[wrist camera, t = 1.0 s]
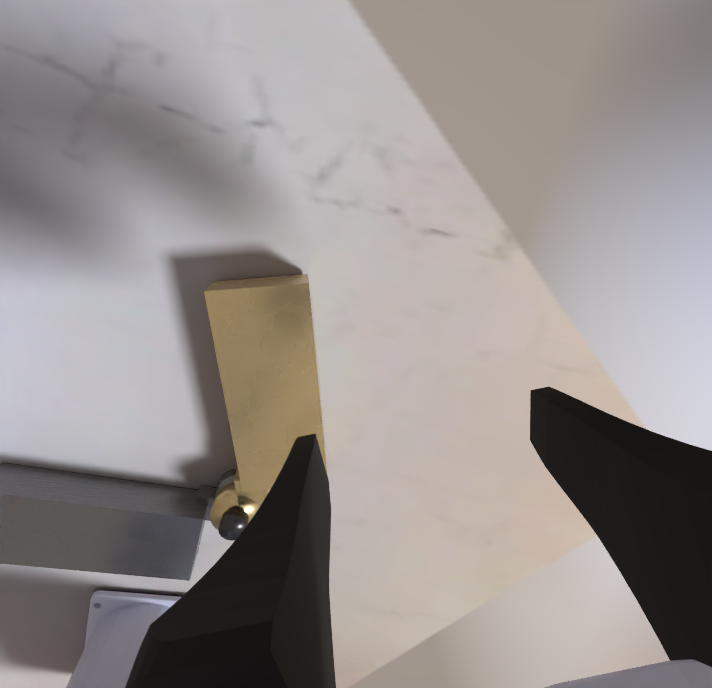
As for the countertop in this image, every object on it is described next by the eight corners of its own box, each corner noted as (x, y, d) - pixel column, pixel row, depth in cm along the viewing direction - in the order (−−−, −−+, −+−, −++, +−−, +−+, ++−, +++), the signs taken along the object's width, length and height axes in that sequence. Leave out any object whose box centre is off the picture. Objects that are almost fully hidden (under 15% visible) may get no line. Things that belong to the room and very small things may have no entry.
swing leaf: (221, 511, 26) (214, 540, 24) (170, 285, 21) (155, 295, 19) (329, 496, 27) (331, 523, 25) (307, 274, 22) (308, 283, 20)
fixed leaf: (246, 554, 28) (239, 602, 25) (0, 527, 25) (-46, 579, 22) (268, 472, 26) (264, 512, 23) (3, 431, 23) (-48, 471, 19)
